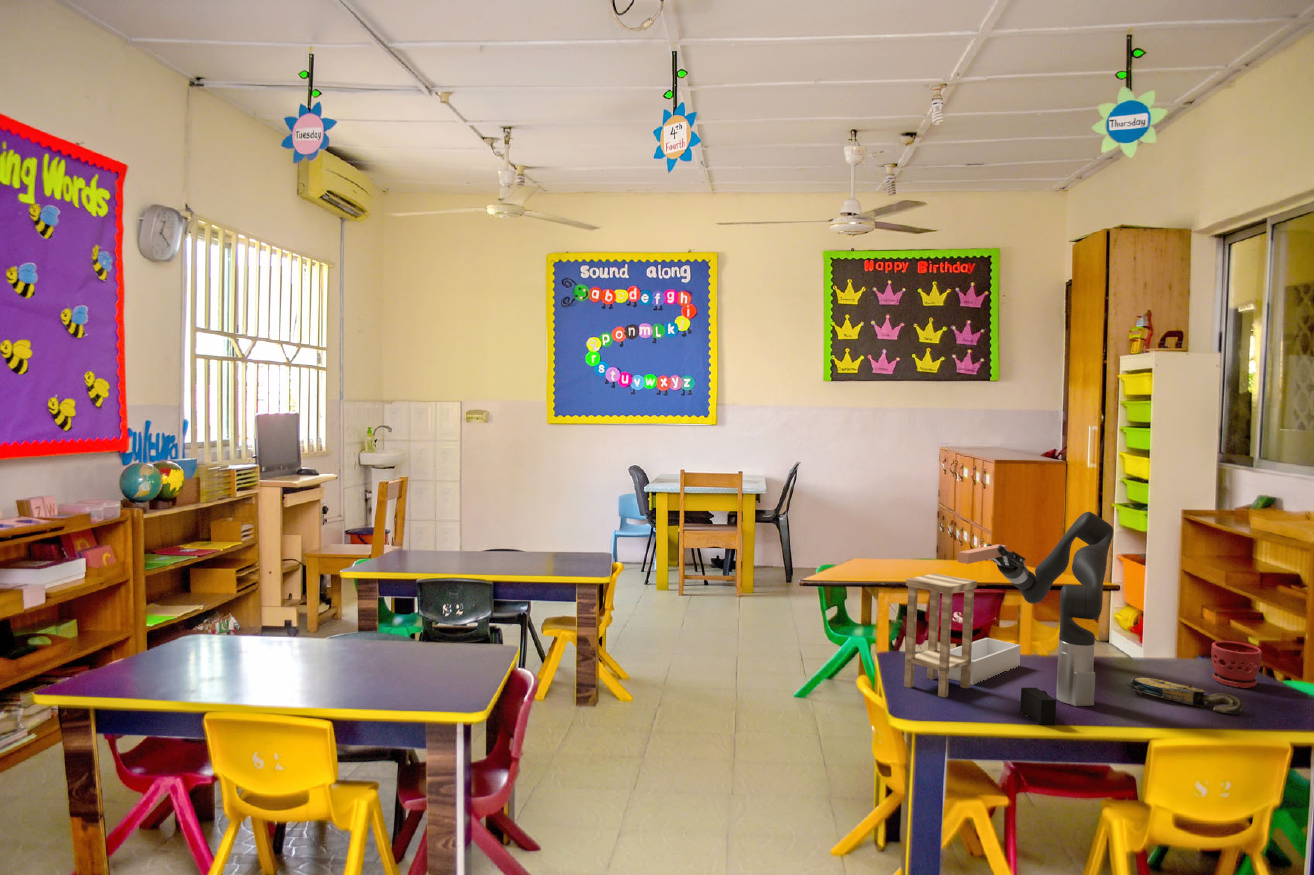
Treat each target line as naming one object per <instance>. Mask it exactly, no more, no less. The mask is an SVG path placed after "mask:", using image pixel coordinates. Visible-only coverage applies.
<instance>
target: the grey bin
mask: <svg viewBox="0 0 1314 875" xmlns="http://www.w3.org/2000/svg"><path fill="white" fill-rule="evenodd" d="M950 654H953V655H957V656H961V657H962V645H959V646H957V647H954V648H953V647H952V648H950ZM1020 662H1021V644H1017V643H1012V642H1007V641H1004V640H998V639H994V638H989V637H984V638H981V639H978V640H975V641H972V650H971V672H970V686H974V685H976V684H978V682H979V683H981V682H984V681H987V680H988V679H987V678H989V679H991V677H992V678H993V676H994V677H996V676H995V675H997V676H999V675H1001V674H1000V673H1002V672H1004V671H1007V672H1009V671H1011V670H1010V669H1012V670H1014V669H1017V668H1019V667H1020V666H1021V665H1020ZM1018 666H1019V667H1018ZM1016 667H1017V668H1016ZM1013 668H1014V669H1013ZM1004 673H1005V672H1004ZM998 674H999V675H998ZM1002 674H1003V673H1002ZM937 676H938V677H939V670H937V674H936V677H937ZM949 679H950V680H953V681H957V682H960V681H961V667H958V668H955V669H952V670H950V671H949ZM983 680H984V681H983ZM980 681H981V682H980Z"/></svg>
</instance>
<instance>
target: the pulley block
mask: <svg viewBox="0 0 1314 875" xmlns="http://www.w3.org/2000/svg"><path fill="white" fill-rule="evenodd" d="M1118 684H1121V685H1123V686H1125V685H1126V686H1127V687H1128V688H1129V690H1135V691H1137V692H1138V693H1139V694H1140V695H1141V696H1142V695H1143V694H1144V695H1149V696H1152V697H1156V698H1161V699H1165V700H1170V701H1174V702H1178V703H1181V705H1183V706H1184V705H1186V704H1187V705H1190V706H1195V707H1200V708H1202V707H1205V705H1212V706H1214V707H1213V708H1212V710H1213V711H1214V712H1218V713H1222V714H1223V713H1224V714H1231V715H1232V714H1237V713H1238V714H1239V713H1242V712H1243V704H1244V702H1243V700H1242V699H1240V698H1238V697H1237V696H1235V695H1232V694H1231V693H1230V694H1229V693H1225V692H1222V693H1220V692H1219V693H1215V694H1214V693H1213V694H1209V695H1208V694H1204V693H1207V692H1206V691H1205V690H1203V689H1201V688H1197V687H1196V688H1195V687H1192V685H1191V684H1189V685H1183V684H1178V683H1174V682H1170V681H1166V680H1162V679H1157V678H1149V677H1147V678H1146V677H1132V678H1131V680H1130V682H1129V683H1128V682H1127V683H1126V682H1123V681H1119V682H1118Z"/></svg>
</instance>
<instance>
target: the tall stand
mask: <svg viewBox="0 0 1314 875" xmlns="http://www.w3.org/2000/svg"><path fill="white" fill-rule="evenodd" d="M977 585H978V581H977V580H973V579H968V578H962V577H957V576H951V575H950V576H949V575H945V574H940V573H939V574H938V573H931V574H926V575H921V576H915V577H910V578H909V577H908V578H906V579H905V586H906V587H907V588H908V589H907V607H906V608H907V611H906V629H905V630H906V632H905V633H906V634H905V657H904V680H903V682H904V683H903V686H904V687H906V688H909V689H910V688H913V687H914V686H915V685H914V684H915V665H917V666H921V667H925V668H926V679H928V678H929V680H933V681H934V680H935V679H937V671H938V670H939V676H938V689H937V690H938V691H937V696H938V697H941V698H947V697H949V684H950V683H949V671H950V670H952V669H955V668H958V667H961V681H959V682H960V683H959V684H960V685H959V686H960V688H962V689H965V688H967V689H969V688H971V684H970V672H971V650H972V642H973V624H974V623H973V622H974V603H975V602H974V601H975V599H974V598H975V589H976V588H978V586H977ZM918 589H921V590H926V591H930V595H929V618H928V637H927V638H928V643H927V650H925V651H921V652H918V653H916V644H917V642H916V641H917V640H916V639H917V637H916V636H917V615H918V593H919V591H918ZM960 592H964V594H963V613H962V615H963V616H962V636H961V637H962V641H961V642H962V643H961V646H962V657H961V656H957V655H953V654H950V649H951V632H952V631H951V630H952V610H953V594H956V593H960ZM940 593H942V594H940ZM940 595H942V596H940ZM940 597H941V617H940V618H941V619H940V618H939V615H940ZM939 619H940V638H939ZM939 640H940V641H939ZM938 642H939V644H940V645H939V644H938ZM938 645H939V650H938Z"/></svg>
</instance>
